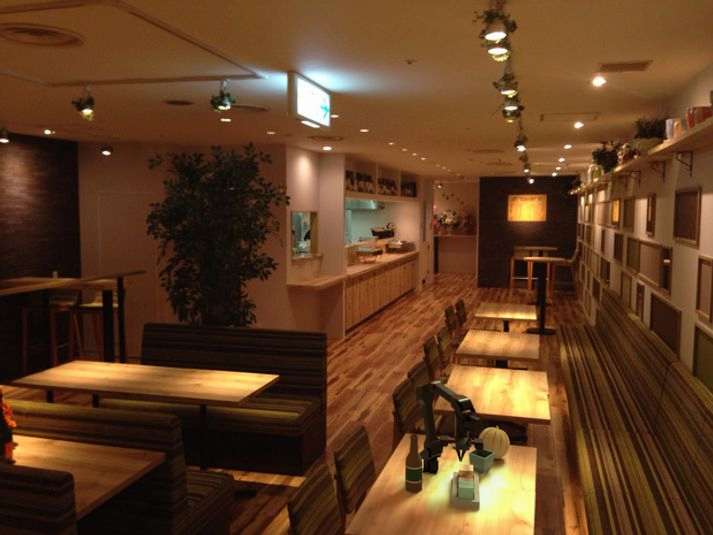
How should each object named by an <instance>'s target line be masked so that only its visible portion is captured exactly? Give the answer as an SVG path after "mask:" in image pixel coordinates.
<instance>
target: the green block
mask: <svg viewBox="0 0 713 535" xmlns="http://www.w3.org/2000/svg"><path fill="white" fill-rule="evenodd" d="M458 481H459V480H458ZM473 482H474V481H473ZM473 482H471V481H459V489H458V488H457V489H458V497H457V499H468V500H474V499H473V492H474V485H473Z"/></svg>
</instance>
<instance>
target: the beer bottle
mask: <svg viewBox="0 0 713 535" xmlns="http://www.w3.org/2000/svg"><path fill="white" fill-rule="evenodd" d="M409 439H410V443H409V450H408V451H409V452H408V453H407V455H406V457H405V463H404V465H405V466H404V468H405V469H404V470H405V474H404V475H405V477H404V478H405V479H404V480H405V481H404V484H405V485H404V487H405V491H407V492H409V493H411V494H413V493H414V494H418V493H420V492H422V490H423V474H424V473H423V459H422V458H421V455H420V454H419V453H420V452H419V440H418V439H419V435H418V434H416V433H414V434H413V433H412V434H410V435H409Z"/></svg>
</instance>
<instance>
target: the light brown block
mask: <svg viewBox="0 0 713 535" xmlns="http://www.w3.org/2000/svg"><path fill="white" fill-rule="evenodd" d="M458 472H459V477H466V478H473V473H474V471H473V465H470V464H462V463H460V464H458Z"/></svg>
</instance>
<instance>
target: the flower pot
mask: <svg viewBox="0 0 713 535" xmlns="http://www.w3.org/2000/svg"><path fill="white" fill-rule="evenodd" d="M494 455H495V453H494V452H491V451H488V450H485V449H484V450H476V449H475V448H474V449H473V450H471V451H470V452H468V459H469V460H468V461H469V465H473V472H474V473H477V474H479V475H480V474H481V475H484V474H487V473H488V472H490V470H491V468H492V467H493V464H494V460H495V459H494Z"/></svg>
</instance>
